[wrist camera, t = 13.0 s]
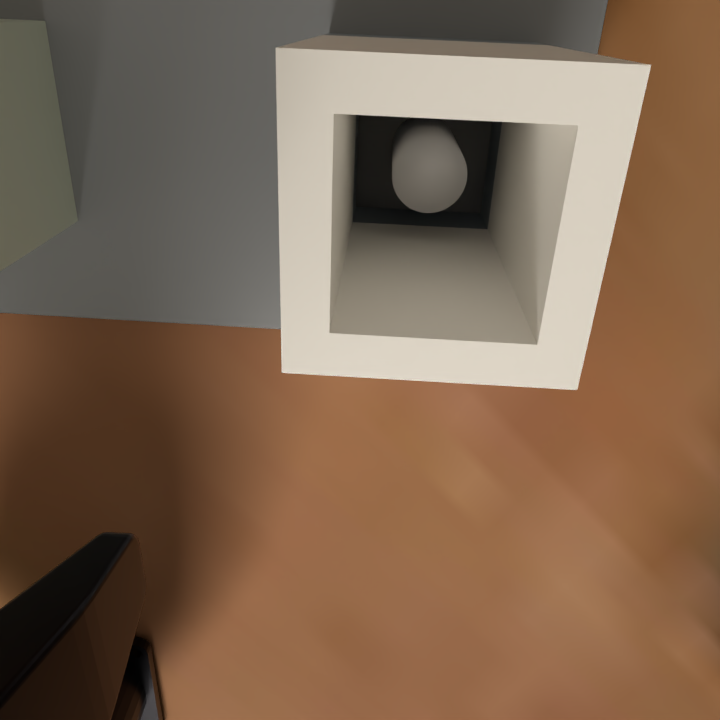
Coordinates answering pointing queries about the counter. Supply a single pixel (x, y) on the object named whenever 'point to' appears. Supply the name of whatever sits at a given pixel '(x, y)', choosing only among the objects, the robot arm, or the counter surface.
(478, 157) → the pin board
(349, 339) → the sleeve
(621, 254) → the counter surface
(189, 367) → the counter surface
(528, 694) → the counter surface
